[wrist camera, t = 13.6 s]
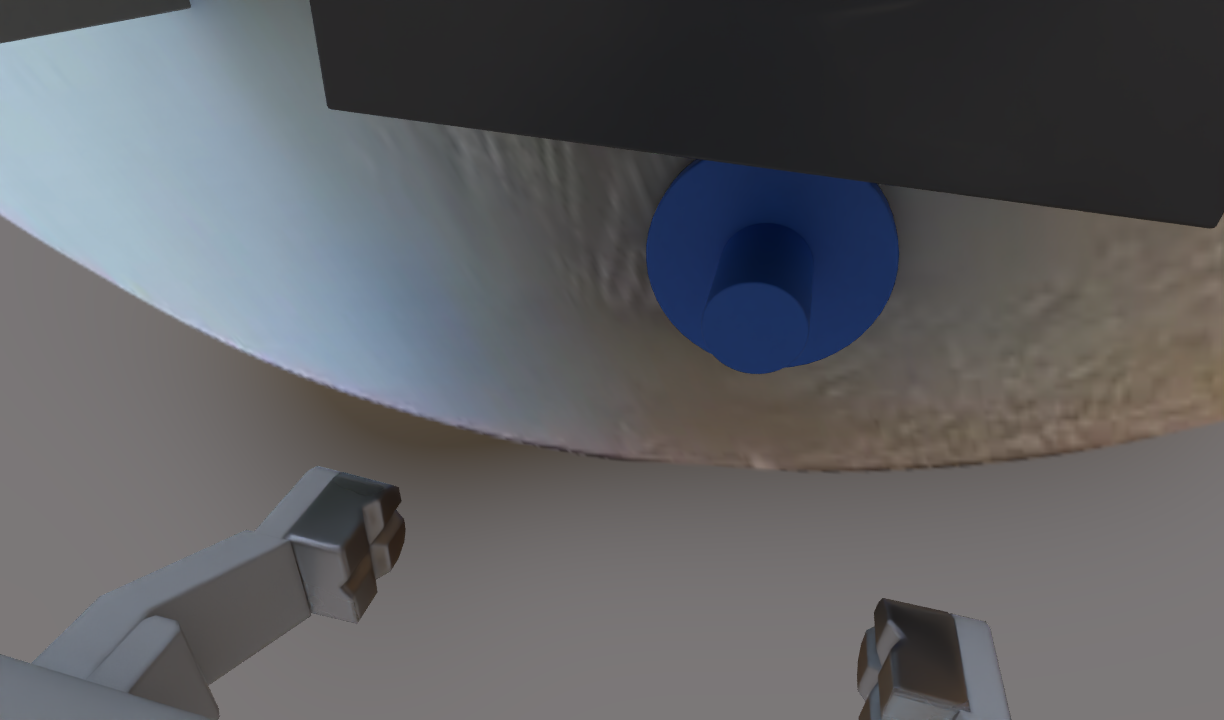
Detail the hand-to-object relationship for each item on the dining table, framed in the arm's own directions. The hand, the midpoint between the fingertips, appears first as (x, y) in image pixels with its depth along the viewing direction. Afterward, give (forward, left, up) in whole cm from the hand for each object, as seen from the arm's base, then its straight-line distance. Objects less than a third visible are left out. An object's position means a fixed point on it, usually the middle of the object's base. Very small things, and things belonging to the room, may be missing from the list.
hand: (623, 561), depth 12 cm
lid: (+1, 0, -13) cm, 13 cm away
